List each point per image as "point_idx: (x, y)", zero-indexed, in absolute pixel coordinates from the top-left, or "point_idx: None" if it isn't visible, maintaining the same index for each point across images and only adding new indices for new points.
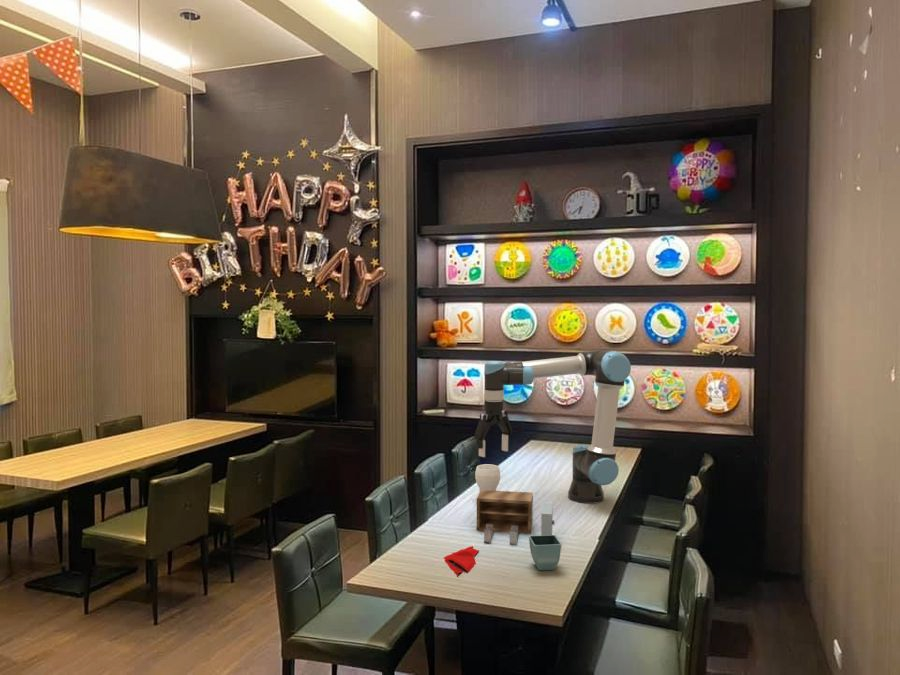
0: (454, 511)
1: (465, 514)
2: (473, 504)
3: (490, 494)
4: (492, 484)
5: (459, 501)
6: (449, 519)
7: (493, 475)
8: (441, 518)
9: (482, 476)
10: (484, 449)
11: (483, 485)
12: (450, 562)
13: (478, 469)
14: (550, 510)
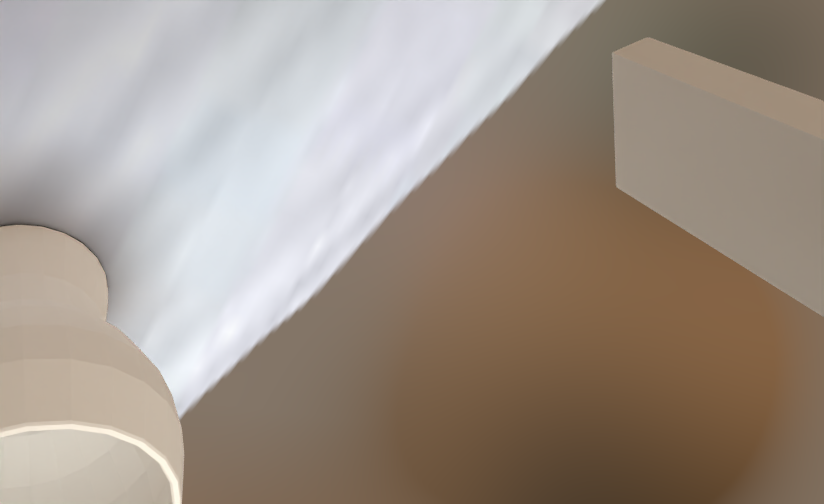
0: (366, 165)
1: (330, 75)
2: (167, 269)
3: None
4: (16, 310)
5: (236, 349)
6: (477, 20)
7: (7, 369)
8: (506, 62)
9: (146, 380)
10: (773, 102)
11: (115, 328)
12: None
13: (178, 475)
14: None
